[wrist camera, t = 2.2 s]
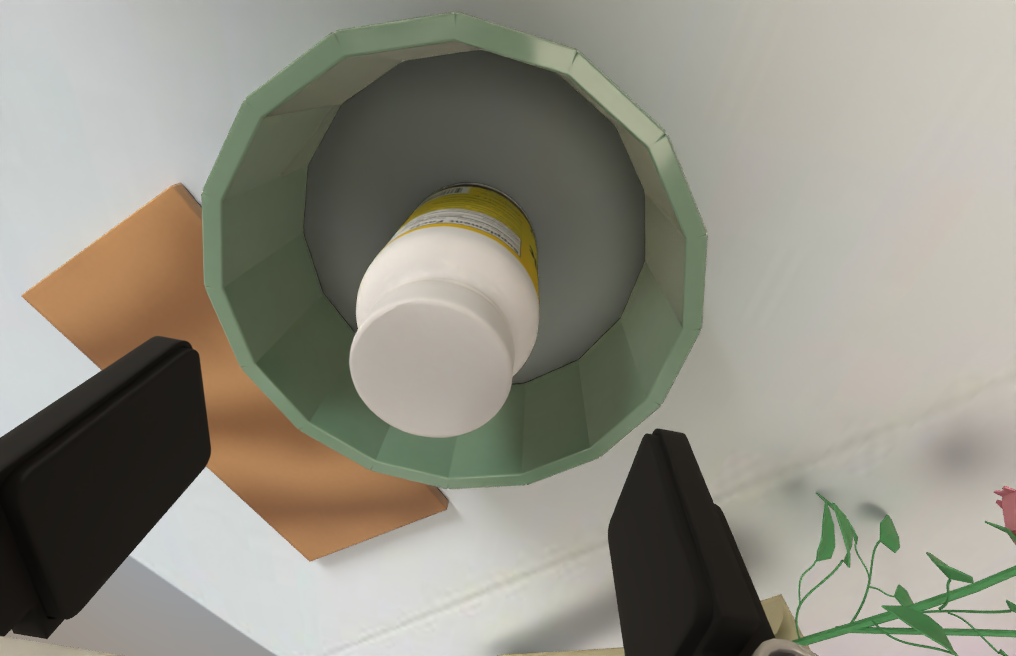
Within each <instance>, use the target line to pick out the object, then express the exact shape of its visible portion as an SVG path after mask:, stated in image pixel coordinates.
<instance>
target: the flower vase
mask: <svg viewBox="0 0 1016 656" xmlns="http://www.w3.org/2000/svg"><path fill="white" fill-rule="evenodd" d="M1002 489H1003V491H999V490H998V491H994V493H996V494H998V495H1000V496H1002V501H1001V500H997V501H996V503H997V504H998V505H999V506H1000V507H1001V508H1002V509H1003V515H1004V521H1005V527H1002V526H999V525H996V524H993V523H990V522H987V521H985V523H987V524H989V525H991V526H993V527H996V528H998V529H1000V530H1002V531H1004V532H1006V533H1007V534H1008V535H1009V536H1010V538H1011V539H1012V540H1013V542H1014V543H1015V544H1016V490H1014V489H1012V488H1009V487H1007V486H1004V487H1003V488H1002ZM816 494H817V495H818V496H819V497H820V498H821V499H822V500H823V501H825V506H824V513H823V521H822V535H821V541H820V544H819V547H818V550H817V557H816V560H815V562H814V564H813V565H812V566H811V567H810V568H809V569H808V570H806V571H805V572H804V573H803V574H802V576H801V578H800V581H799V606H798V608H797V612H796V617H795V619H794V617H793V616H792V614H791V612H790V610H789V608H788V606H787V604H786V602H785V600H784V598H783V596H782V594H780V595H777V596H774V597H771V598H768V599H765V600H762V601H760V602H761V604H762V607H763V609H764V611H765V614H766V616H767V619H768V621H769V623H770V626H771V628H772V631H773V633H774V635H775V638H776V639H786V640H789V641H792V642H795V643H797V644H800V645H802V646H804V647H806V648H807V649H809V650H810V648H809V646H808V645H809V644H813V643H816V642H820V641H823V640H826V639H830V638H833V637H837V636H840V635H843V634H847V633H871V634H886V635H887V636H889V637H891V638H893V639H895V640H897V641H899V642H902V643H905V644H909V645H913V646H919V647H924V648H930V649H935V650H939V651H943V652H947V653H950V654H953V655H955V656H958V655H957V653H956V652H955V651H954V650H953V648H952V646H951V644H950V642H949V640H948V638H947V636H946V635H959V636H981V637H982V638H983V639H984V640H985V641H986V642H987V643H988V644H989V645H990V646H991V647H992V648H993V649H994V650H995V651H996V652H997V653H998V654H1001V655H1003V656H1008V655H1007V654H1006V653H1005V652H1004V651H1002V650H1001V649H1000V651H999V652H998V651H997V650H996V649H995V648H994V647H993V646H992V645H991V644H990V643H989V642H988V641H987V640H986V639H985V638H984V637H983V636H995V637H1016V630H989V629H975V628H974V627H973V626H972V625H971V624H969V623H968V622H967V621H966V620H964V619H963V618H961V617H959V616H957V615H955V614H952V613H949V612H966V613H1008V612H1011V611H1013V612H1015V613H1016V605H1015V604H1013V603H1011V602H1010V601H1008V600H1006V603H1007V605H1008V606H1009V608H1010V610H1000V611H976V610H941V609H943V608H944V607H945V606H946V605H947V604H948V602H950V601H953V600H956V599H959V598H962V597H965V596H967V595H970V594H973V593H976V592H979V591H981V590H983V589H986V588H988V587H990V586H993V585H995V584H997V583H1000V582H1002V581H1004V580H1007V579H1009V578H1011V577H1014V576H1016V566H1014V567H1011V568H1009V569H1006V570H1004V571H1001V572H999V573H997V574H994V575H992V576H989V577H987V578H985V579H982V580H980V581H977V582H975V583H973V578H972V577H971V576H969V575H967V574H965V573H963V572H961V571H958V570H956V569H954V568H952V567H949V566H948V565H946V564H945V563H943V562H942V561H941V560H939V559H938V558H936V557H935V556H934V555H932V554H931V553H928V552H927V553H926V554H927V555H928V556H929V558H930V559H931V560H932V561H933V562H934V563H935V564H936V565H937V567H938V568H939V569H940V570H941V571H942V572H943V573H944V574H945V575H946V576H947V577H948V578H949V580H948V581H947V593H944V594H941V595H938V596H935V597H932V598H929V599H926V600H923V601H920V602H918V603H915V604H913V602H912V600H911V598H910V596H909V594H908V592H907V590H905V589H904V588H903V587H902V586H901V585H898V586H897V589H896V592H895V594H894V596H892V595H888V594H886V593H885V592H883V591H882V590H880V589H878V588H875V587H871V586H869V585H870V580H871V574H872V566H873V559H874V554H875V550H876V548H877V546H878V544H879V543H880V542H882V543H883V544H884V545H885V546H887V547H888V548H889V549H890V550H892V551H893V552H894V553H896V551H897V550H898V549H899V548H900V544H899V536H898V534H897V531H896V529H895V527H894V524H893V522H892V519H891V518H890V517H889V516H888V515H886V517H885V518H884V520H883V521H882V522H881V523H880V540H879V541H878V542H877V543H876V545H875V547H874V550H873V554H872V560H871V567H870V575H869V572H868V570H867V568H866V566H865V564H864V563H863V561H862V559H861V558H860V556H859V554H858V552H857V549H856V544H857V541H858V537H857V535H856V533H855V530H854V529H853V527H852V525H851V524H850V522H849V520H848V519H847V518H846V516H845V514H844V513H843V512H842V511H841V510H840V509H839V508H838V507H837V506H836V505H835V503H830V502H829V501H828V500H826V499H825V498H824V497H822V496H821V495H820V494H818V493H817V492H816ZM828 505H829V506H830V507H831V508H832V509H833V510H834V511H835V513H836V516H837V519H838V523H839V526H840V529H841V532H842V535H843V539H844V542H845V545H846V548H847V554H846V556H845V559H844V561H843V560H841V562H840V563H839V564H838V566H837V567H836V568H835V569H834V570H833V571H832V572H831V573H830V574H829V575H828V576H827V577H826V578H825V579H824V580H823V581H821V582H820V583H819V584H818V585H817V586H815V587H814V588H813V589H812V590H811V591H810V592H809V593H808V594H807V595H806V596H805V597H804V598H803V599H802V601H800V583H801V579H802V577H803V575H804V574H805V573H806V572H807V571H809V570H810V569H811V568H812V567H813V566H814V565H815V563H816V562H817V561H822V560H826V559H830V558H831V557H832V554H833V551H834V548H835V534H834V524H833V520H832V517H831V514H830V511H829V507H828ZM853 537H854V541H855V550H856V553H857V555H858V557H859V559H860V560H861V562H862V564H863V565H864V567H865V569H866V571H867V574H868V578H869V580H868V585H867V589H866V592H865V595H864V598H863V601H862V603H861V605H860V607H859V609H858V611H857V613H856V614H855V616H854V618H853V619H852V621H851V622H850V623H849V624H845V625H842V626H835V628H832V629H829V630H825V631H822V632H819V633H815V634H812V635H809V636H806V637H803V635H802V633H801V631H800V629H799V627H798V624H797V618H798V612H799V609H800V606H801V605H802V603H803V601H804V600H805V599H806V598H807V597H808V595H810V594H811V593H812V592H813V591H814V590H815V589H816V588H817V587H819V586H820V585H821V584H822V583H823V582H825V581H826V580H827V579H828V578H829V577H830V576H831V575H832V574H833V573H834V572H835V571H836V570H837V569H838V568H839V567H840V565H841V564H842V563H843V562H844V563H845V564H846V565H847V566H848V567H850V550H851V547H852V541H853ZM950 579H952V580H957V581H962V582H967V583H972V584H970V585H967V586H964V587H961V588H958V589H955V590H952V591H950V592H949V584H950V582H951V580H950ZM869 588H874V589H877V590H879V591H881V592H882V593H884V594H886V595H887V596H890V597H895V598H896V599H897V600H898V602H899V603H900V604H901V605H902V606H883V605H882V606H881V607H883V608H884V609H886V610H887V611H888V612H885V613H882V614H878V615H875V616H872V617H869V618H865V619H862V620H859V621H855V622H854V620H855V619H856V617H857V616H858V614H859V612H860V610H861V608H862V606H863V604H864V602H865V599H866V596H867V593H868V589H869ZM941 604H943V605H942V606H941V607H939V610H931V611H924V610H927V609H930V608H933V607H936V606H939V605H941ZM936 612H948V614H951V615H954V616H956V617H958V618H960V619H961V620H963V621H964V622H966V623H967V624H968V625H969V626H970V627H971V628H973V629H943V628H942V627H941V626H940V625H939V624H938V623H937V622H935V621H934V620H933V619H932V618H930V617H929V616H927V615H925V614H923V613H936ZM898 618H899V619H900V620H902V621H903V622H905V623H906V624H908V625H909V626H911V627H912V628H882V627H879V626H878V624H881V623H884V622H888V621H891V620H895V619H898ZM874 625H875V626H876V627H871V626H874ZM889 634H911V635H925V636H927V637H928V638H930V639H932V640H933V641H935V642H937V643H938V644H940V645H942V646H943V647H945V648H946V649H947V650H949V651H947V650H944V649H940V648H935V647H931V646H925V645H919V644H914V643H909V642H905V641H902V640H899V639H897V638H895V637H893V636H891V635H889ZM810 651H811V650H810ZM497 656H625V653H624V647H622V648H607V649H591V650H575V651H559V652H544V653H528V654H505V655H497Z"/></svg>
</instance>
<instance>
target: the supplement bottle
mask: <svg viewBox="0 0 1016 656" xmlns="http://www.w3.org/2000/svg"><path fill="white" fill-rule="evenodd" d="M356 319H357V326H358V331H357V333H356V334H355V336H354V339H353V342H352V345H351V349H350V358H349V365H350V372H351V377H352V380H353V383H354V386H355V388H356V390H357V392H358V394H359V396H360V397H361V399H362V400H363V401H364V403H365V404H366V405H367V407H368V408H369V409H370V410H371V411H372V412H373V413H375V414H376V415H377V416H378V417H379V418H381V419H382V420H383V421H385V422H386V423H388V424H390V425H391V426H393V427H395V428H397V429H399V430H402V431H404V432H407V433H410V434H414V435H418V436H424V437H433V438H444V437H453V436H457V435H462V434H465V433H468V432H471V431H473V430H476V429H477V428H479V427H481V426H483V425H484V424H485V423H487V422H488V421H489V420H491V419H492V418H493V417H494V416H495V415H496V414H497V413H498V411H499V410H500V409H501V407H502V406H503V404H504V403H505V401H506V399H507V397H508V395H509V392H510V389H511V384H512V377H513V376H514V375H515V374H516V373H517V372H518V371H519V370H520V369H521V367H522V366H523V365H524V363H525V362H526V360H527V359H528V357H529V355H530V353H531V351H532V349H533V347H534V344H535V341H536V338H537V334H538V327H539V290H538V263H537V244H536V238H535V233H534V230H533V227H532V224H531V222H530V220H529V218H528V217H527V215H526V214H525V212H524V211H523V209H522V208H521V207H520V206H519V205H518V204H517V203H516V202H515V201H514V200H513V199H512V198H510V197H509V196H508V195H506V194H505V193H503V192H501V191H499V190H497V189H495V188H492V187H489V186H486V185H483V184H477V183H459V184H453V185H450V186H446V187H444V188H441V189H439V190H438V191H436V192H434V193H432V194H431V195H430V196H428V197H427V198H426V199H425V200H424V201H422V202H421V203H420V204H419V206H418V207H417V208H416V209H415V210H414V211H413V213H412V214H411V215H410V217H409V218H408V219H407V220H406V221H405V223H404V224H403V225H402V226H401V228H400V229H399V230H398V231H397V232H396V234H395V235H394V236H393V237H392V239H391V240H390V241H389V242H388V243H387V245H386V246H385V247H384V248H383V249H382V250H381V252H380V253H379V254H378V255H377V256H376V258H375V259H374V260H373V262H372V263H371V265H370V266H369V268H368V269H367V271H366V273H365V275H364V277H363V279H362V282H361V284H360V287H359V291H358V296H357V303H356Z"/></svg>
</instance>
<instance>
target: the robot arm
mask: <svg viewBox="0 0 1016 656" xmlns="http://www.w3.org/2000/svg"><path fill="white" fill-rule="evenodd" d="M210 456H211V443H210V435H209V427H208V419H207V411H206V403H205V396H204V388H203V380H202V372H201V364H200V357H199V353H198V352H197V351H196V350H194V349H193V348H192V345H191V344H190V343H189V342H187V341H185V340H179V339H174V338H168V337H163V336H154V337H152V338H150V339H149V340H147V341H146V342H144V343H143V344H141V345H140V346H138V347H137V348H135V349H134V350H132V351H131V352H129V353H128V354H126V355H125V356H123V357H122V358H120V359H118V360H117V361H115V362H114V363H112V364H111V365H109V366H108V367H106V368H105V369H103V370H102V371H100V372H99V373H97V374H96V375H94V376H93V377H91V378H90V379H88V380H87V381H85V382H84V383H82V384H81V385H79V386H78V387H76V388H75V389H73V390H72V391H70V392H69V393H67V394H66V395H64V396H63V397H61V398H60V399H58V400H57V401H55V402H54V403H52V404H51V405H49V406H48V407H46V408H45V409H43V410H42V411H40V412H38V413H37V414H35V415H34V416H32V417H31V418H29V419H28V420H26V421H25V422H23V423H22V424H20V425H19V426H17V427H16V428H14V429H13V430H11V431H10V432H8V433H7V434H5V435H4V436H2V437H1V438H0V656H123V655H117V654H110V653H104V652H98V651H92V650H86V649H79V648H74V647H67V646H61V645H55V644H49V643H43V642H37V641H31V640H23V639H17V638H10V637H4V636H5V635H6V634H7V633H8V632H9V631H10V630H11V629H12V630H13V633H15V634H21V635H27V636H33V637H39V638H45V639H48V637H49V636H50V635H51V634H52V633H53V632H54V631H55V629H56V628H57V627H58V626H59V625H60V624H61V623H62V622H63V620H64V619H70V618H72V617H74V616H75V615H77V614H78V613H79V612H80V611H81V610H82V608H84V606H85V605H86V604H87V603H88V602H89V600H90V599H91V598H92V597H93V596H94V595H95V594H96V593H97V591H98V590H99V589H100V588H101V587H102V586H103V584H104V583H105V582H106V581H107V580H108V579H109V578H110V576H111V575H112V574H113V573H114V572H115V570H116V569H117V568H118V567H119V566H120V565H121V564H122V562H123V561H124V560H125V559H126V558H127V557H128V556H129V554H130V553H131V552H132V551H133V550H134V549H135V548H136V546H137V545H138V544H139V543H140V542H141V541H142V539H143V538H144V537H145V536H146V535H147V534H148V533H149V531H150V530H151V529H152V528H153V527H154V526H155V525H156V523H157V522H158V521H159V520H160V519H161V518H162V516H163V515H164V514H165V513H166V512H167V511H168V510H169V508H170V507H171V506H172V505H173V504H174V503H175V501H176V500H177V499H178V498H179V497H180V496H181V495H182V493H183V492H184V491H185V490H186V489H187V488H188V486H189V485H190V484H191V483H192V482H193V481H194V480H195V478H196V477H197V476H198V475H199V474H200V473H201V471H202V470H203V469H204V468H205V467H206V465H207V463H208V461H209V459H210ZM608 542H609V549H610V556H611V563H612V570H613V576H614V583H615V590H616V597H617V604H618V611H619V618H620V625H621V632H622V639H623V646H624V653H625V656H818V655H817V654H815V653H813V652H812V651H810V650H809V649H807V648H806V647H804V646H802V645H800V644H797V643H795V642H792V641H789V640H786V639H776V638H775V635H774V633H773V631H772V628H771V626H770V623H769V621H768V619H767V616H766V614H765V611H764V609H763V607H762V604H761V602H760V600H759V597H758V595H757V592H756V590H755V588H754V585H753V583H752V580H751V578H750V576H749V573H748V571H747V568H746V566H745V564H744V561H743V559H742V556H741V554H740V552H739V549H738V547H737V545H736V542H735V540H734V537H733V535H732V533H731V530H730V528H729V525H728V523H727V521H726V518H725V516H724V514H723V512H722V510H721V508H720V507H719V506H717V505H716V504H714V503H713V500H712V498H711V496H710V493H709V491H708V488H707V486H706V483H705V481H704V478H703V476H702V473H701V471H700V468H699V466H698V463H697V461H696V459H695V456H694V454H693V451H692V449H691V446H690V444H689V441H688V439H687V437H686V435H685V434H683V433H680V432H674V431H669V430H664V429H655V430H654V431H653V433H652V434H645V435H644V437H643V439H642V441H641V444H640V446H639V449H638V451H637V454H636V456H635V459H634V461H633V464H632V467H631V469H630V472H629V474H628V477H627V479H626V482H625V484H624V487H623V489H622V492H621V495H620V497H619V500H618V502H617V505H616V507H615V510H614V512H613V515H612V518H611V520H610V523H609V528H608Z"/></svg>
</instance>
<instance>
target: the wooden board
mask: <svg viewBox="0 0 1016 656" xmlns="http://www.w3.org/2000/svg"><path fill="white" fill-rule="evenodd" d="M205 287H206V286H204V269H203V232H202V208H201V206H200V205H199V204H198V203H197V202H196V200H195V199H194V198H193V197H192V196H191V194H190V193H189V192H188V191H187V190H186V189H185V187H184V186H183V185H182V184H181V183H178V184H175V185H172V186H170V187H169V188H168V189H166V190H165V191H163V192H162V193H161V194H159V195H158V196H157V197H155V198H154V199H152V200H151V201H150V202H148V203H147V204H146V205H144V206H143V207H142V208H140V209H139V210H137V211H136V212H135V213H133V214H132V215H131V216H129V217H128V218H126V219H125V220H124V221H122V222H121V223H120V224H118V225H117V226H116V227H114V228H113V229H111V230H110V231H109V232H107V233H106V234H105V235H103V236H102V237H100V238H99V239H98V240H96V241H95V242H94V243H92V244H91V245H89V246H88V247H87V248H85V249H84V250H83V251H81V252H80V253H79V254H77V255H76V256H74V257H73V258H72V259H70V260H69V261H68V262H66V263H65V264H63V265H62V266H61V267H59V268H58V269H57V270H55V271H54V272H53V273H51V274H50V275H48V276H47V277H46V278H44V279H43V280H42V281H40V282H39V283H37V284H36V285H35V286H33V287H32V288H31V289H29V290H28V291H27V292H25V293H24V294H22V297H23V298H24V299H25V300H26V301H27V302H28V303H29V304H30V305H32V306H33V307H34V308H35V309H36V310H37V311H38V312H39V313H40V314H41V315H42V316H43V317H45V318H46V319H47V320H48V321H49V322H50V323H51V324H52V325H53V326H54V327H55V328H57V329H58V330H59V331H60V332H61V333H62V334H63V335H64V336H65V337H66V338H67V339H68V340H70V341H71V342H72V343H73V344H74V345H75V346H76V347H77V348H78V349H79V350H80V351H81V352H83V353H84V354H85V355H86V356H87V357H88V358H89V359H90V360H91V361H92V362H93V363H95V364H96V365H97V366H98V367H99V368H100V369H101V370H103V369H105V368H106V367H108V366H109V365H111V364H112V363H114V362H115V361H117V360H118V359H120V358H122V357H123V356H125V355H126V354H128V353H129V352H131V351H132V350H134V349H135V348H137V347H138V346H140V345H141V344H143V343H144V342H146V341H147V340H149V339H150V338H152V337H154V336H163V337H168V338H174V339H179V340H185V341H187V342H189V343H190V344H191V345H192V348H193V349H194V350H196V351H197V352H198V353H199V357H200V364H201V372H202V380H203V388H204V396H205V403H206V411H207V419H208V427H209V435H210V443H211V456H210V459H209V461H208V463H207V465H206V467H207V468H209V469H210V470H211V471H212V472H213V473H214V474H215V475H216V476H217V477H218V478H219V479H221V480H222V481H223V482H224V483H225V484H226V485H227V486H228V487H229V488H230V489H231V490H232V491H234V492H235V493H236V494H237V495H238V496H239V497H240V498H241V499H242V500H243V501H244V502H246V503H247V504H248V505H249V506H250V507H251V508H252V509H253V510H254V511H255V512H256V513H257V514H259V515H260V516H261V517H262V518H263V519H264V520H265V521H266V522H267V523H268V524H269V525H270V526H272V527H273V528H274V529H275V530H276V531H277V532H278V533H279V534H280V535H281V536H282V537H284V538H285V539H286V540H287V541H288V542H289V543H290V544H291V545H292V546H293V547H294V548H295V549H297V550H298V551H299V552H300V553H301V554H302V555H303V556H304V557H305V558H306V559H307V560H309V561H313V560H315V559H318V558H321V557H323V556H326V555H328V554H331V553H334V552H336V551H339V550H342V549H344V548H347V547H350V546H352V545H355V544H357V543H360V542H363V541H365V540H368V539H371V538H373V537H376V536H378V535H381V534H384V533H386V532H389V531H392V530H394V529H397V528H399V527H402V526H405V525H407V524H410V523H413V522H415V521H418V520H420V519H423V518H426V517H428V516H431V515H434V514H436V513H439V512H442V511H444V510H446V509H447V507H448V500H447V499H446V498H445V497H444V496H443V494H442V493H441V492H440V491H439V490H438V488H437V487H436V486H432V485H428V484H423V483H419V482H415V481H411V480H407V479H402V478H398V477H394V476H390V475H386V474H381V473H377V472H373V471H371V470H368V469H366V468H364V467H363V466H361V465H359V464H357V463H356V462H354V461H352V460H350V459H349V458H347V457H345V456H343V455H342V454H340V453H338V452H336V451H335V450H333V449H331V448H329V447H327V446H326V445H324V444H322V443H320V442H319V441H317V440H315V439H313V438H312V437H310V436H308V435H306V434H305V433H303V432H301V431H300V429H297V428H296V427H295V426H294V425H293V423H292V422H291V421H290V420H289V419H288V418H287V417H286V416H285V415H284V414H283V413H282V412H281V411H280V410H279V409H278V408H277V406H276V405H275V404H274V403H273V402H272V401H271V400H270V399H269V398H268V397H267V396H266V395H265V394H264V393H263V392H262V391H261V389H260V388H259V387H258V386H257V385H256V384H255V383H254V382H253V381H252V380H251V379H250V378H249V377H248V376H247V375H246V373H245V372H244V371H243V370H242V367H240V366H239V364H238V361H237V359H236V357H235V355H234V352H233V350H232V348H231V346H230V343H229V341H228V339H227V337H226V334H225V332H224V330H223V328H222V325H221V323H220V321H219V319H218V316H217V314H216V312H215V310H214V307H213V305H212V303H211V301H210V298H209V296H208V294H207V292H206V289H205Z"/></svg>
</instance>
